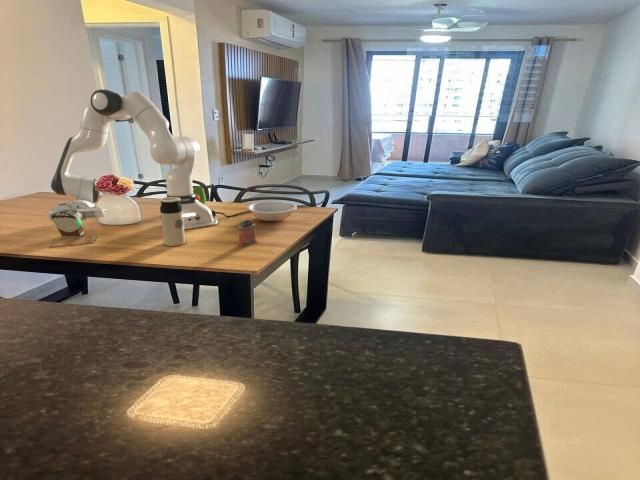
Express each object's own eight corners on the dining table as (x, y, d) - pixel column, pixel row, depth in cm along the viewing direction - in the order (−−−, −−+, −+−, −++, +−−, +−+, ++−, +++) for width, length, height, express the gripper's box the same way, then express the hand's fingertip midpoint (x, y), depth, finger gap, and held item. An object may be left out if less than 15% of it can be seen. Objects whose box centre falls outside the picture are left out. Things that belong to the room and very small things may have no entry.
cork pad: (95, 236, 157) (95, 235, 157) (92, 243, 150) (92, 242, 149) (55, 240, 152) (55, 239, 152) (50, 247, 144) (50, 246, 144)
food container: (95, 230, 159) (86, 208, 155) (84, 237, 154) (75, 214, 149) (69, 230, 162) (60, 208, 157) (58, 236, 156) (48, 214, 152)
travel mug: (160, 243, 151) (155, 198, 146) (179, 238, 157) (174, 195, 151) (170, 247, 146) (165, 202, 141) (189, 243, 152) (185, 199, 146)
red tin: (252, 240, 157) (251, 216, 154) (257, 242, 155) (257, 218, 152) (236, 245, 151) (235, 220, 148) (242, 247, 149) (241, 222, 146)
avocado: (206, 208, 204) (205, 186, 200) (191, 209, 202) (189, 187, 198) (206, 205, 212) (204, 184, 208) (191, 206, 209) (189, 184, 206)
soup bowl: (282, 211, 203) (282, 199, 200) (305, 222, 184) (305, 209, 181) (240, 217, 190) (239, 204, 188) (260, 229, 171) (259, 215, 169)
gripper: (107, 215, 173) (104, 223, 161) (54, 219, 165) (46, 227, 153) (105, 201, 171) (101, 208, 159) (51, 204, 163) (43, 212, 151)
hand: (74, 218), depth 156 cm, fingers closed
